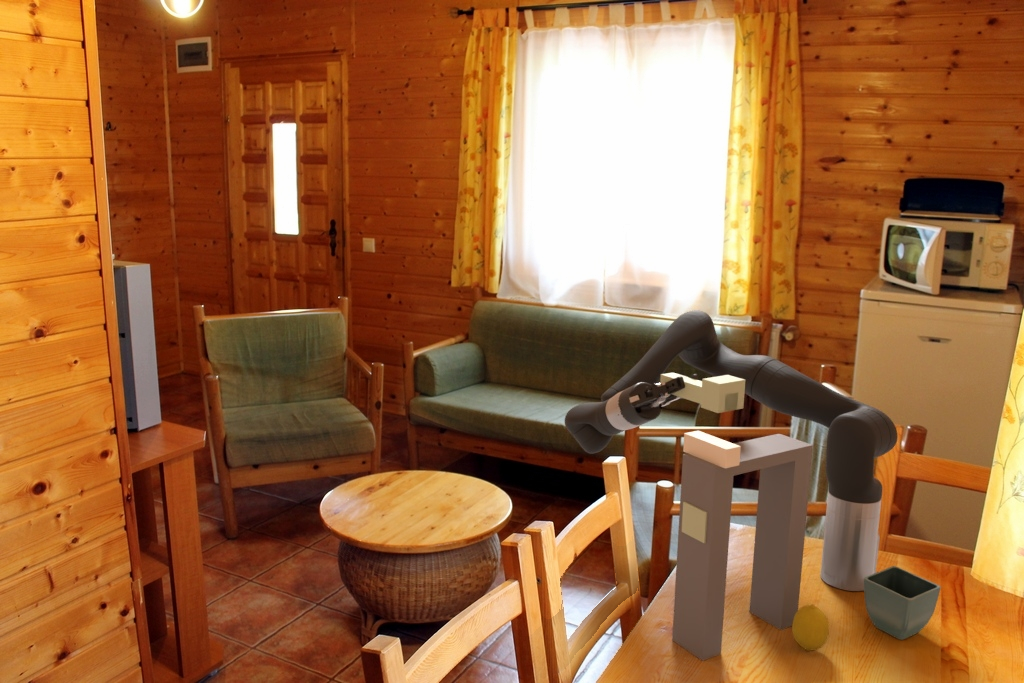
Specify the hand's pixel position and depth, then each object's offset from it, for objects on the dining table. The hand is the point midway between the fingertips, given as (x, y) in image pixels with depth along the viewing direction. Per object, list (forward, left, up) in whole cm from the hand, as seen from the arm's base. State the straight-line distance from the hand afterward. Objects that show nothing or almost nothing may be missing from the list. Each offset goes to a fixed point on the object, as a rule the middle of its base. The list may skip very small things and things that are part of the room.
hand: (689, 380), depth 149 cm
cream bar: (+11, +17, -7) cm, 22 cm away
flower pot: (-21, +31, -39) cm, 54 cm away
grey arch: (+3, +17, -39) cm, 43 cm away
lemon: (-3, +27, -39) cm, 48 cm away
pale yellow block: (0, +2, -3) cm, 4 cm away
